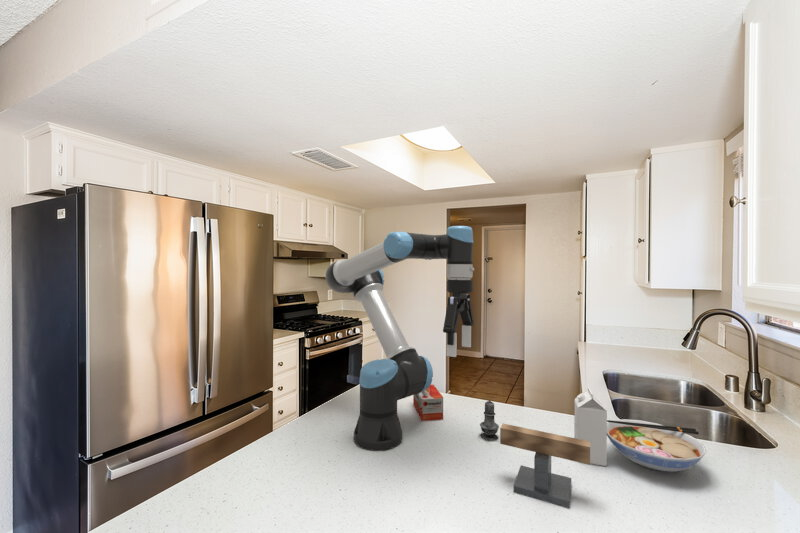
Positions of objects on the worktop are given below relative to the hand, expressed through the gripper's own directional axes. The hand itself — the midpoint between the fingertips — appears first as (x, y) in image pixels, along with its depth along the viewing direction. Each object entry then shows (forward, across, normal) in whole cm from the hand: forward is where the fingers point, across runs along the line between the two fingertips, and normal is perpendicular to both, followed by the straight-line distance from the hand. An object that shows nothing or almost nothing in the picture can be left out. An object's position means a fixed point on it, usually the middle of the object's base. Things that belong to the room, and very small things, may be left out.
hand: (459, 351), depth 105 cm
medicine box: (+29, +20, +19) cm, 40 cm away
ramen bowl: (+29, +18, -49) cm, 60 cm away
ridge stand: (+29, -8, -24) cm, 38 cm away
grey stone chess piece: (+29, +12, -6) cm, 32 cm away
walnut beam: (+20, -8, -24) cm, 32 cm away
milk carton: (+29, +13, -34) cm, 46 cm away
